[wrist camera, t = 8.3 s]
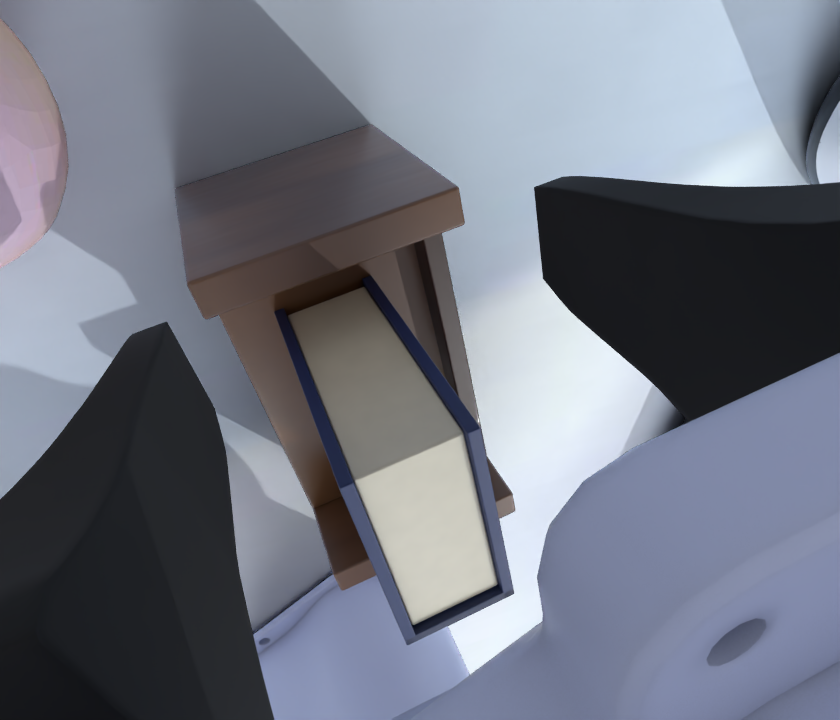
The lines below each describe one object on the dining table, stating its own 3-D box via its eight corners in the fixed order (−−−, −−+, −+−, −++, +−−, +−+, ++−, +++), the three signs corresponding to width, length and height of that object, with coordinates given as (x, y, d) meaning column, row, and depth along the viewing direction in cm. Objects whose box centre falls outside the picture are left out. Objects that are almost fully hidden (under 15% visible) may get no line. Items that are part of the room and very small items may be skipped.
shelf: (299, 458, 26) (341, 592, 20) (173, 188, 19) (185, 283, 13) (440, 399, 27) (516, 511, 21) (372, 123, 20) (459, 186, 14)
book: (333, 455, 21) (407, 646, 15) (273, 310, 18) (338, 488, 12) (414, 421, 22) (515, 594, 16) (371, 274, 18) (481, 427, 12)
